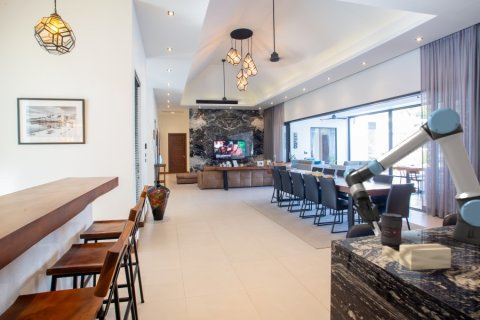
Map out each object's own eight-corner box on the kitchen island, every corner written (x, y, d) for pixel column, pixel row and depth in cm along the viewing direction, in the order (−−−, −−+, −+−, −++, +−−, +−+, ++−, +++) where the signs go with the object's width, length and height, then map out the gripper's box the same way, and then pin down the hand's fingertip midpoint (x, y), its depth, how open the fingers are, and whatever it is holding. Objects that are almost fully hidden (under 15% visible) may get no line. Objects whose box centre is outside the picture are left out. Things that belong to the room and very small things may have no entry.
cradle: (380, 253, 117) (381, 236, 117) (415, 251, 119) (415, 235, 119) (411, 269, 100) (411, 250, 100) (450, 267, 103) (451, 248, 102)
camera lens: (404, 252, 118) (405, 217, 118) (383, 251, 120) (384, 216, 119) (397, 246, 126) (398, 213, 126) (378, 245, 128) (379, 212, 127)
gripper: (368, 198, 150) (387, 238, 134) (345, 198, 149) (362, 239, 133) (374, 189, 145) (395, 230, 129) (350, 190, 143) (369, 231, 127)
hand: (378, 235), depth 131 cm, fingers closed
